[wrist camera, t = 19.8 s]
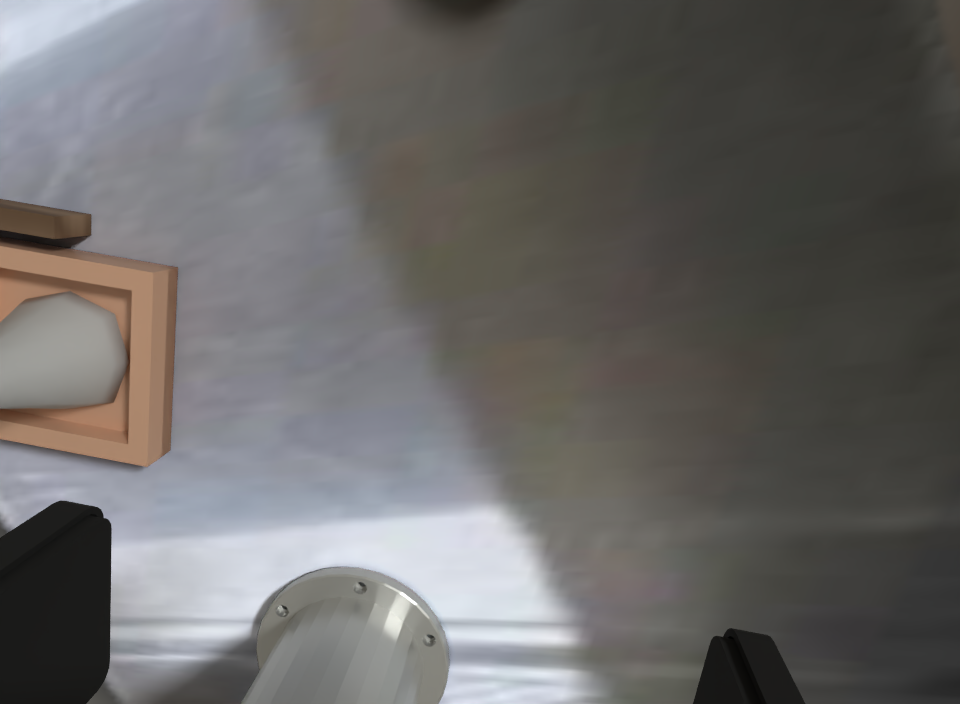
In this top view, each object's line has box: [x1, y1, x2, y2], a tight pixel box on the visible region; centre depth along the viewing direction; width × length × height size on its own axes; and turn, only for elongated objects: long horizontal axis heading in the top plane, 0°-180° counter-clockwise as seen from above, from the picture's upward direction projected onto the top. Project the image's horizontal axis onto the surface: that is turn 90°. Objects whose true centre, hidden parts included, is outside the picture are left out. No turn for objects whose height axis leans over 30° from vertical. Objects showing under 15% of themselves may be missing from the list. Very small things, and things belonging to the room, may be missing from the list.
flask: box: [0, 291, 129, 409], centre depth 35 cm, size 7×7×10 cm
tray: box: [0, 237, 178, 467], centre depth 39 cm, size 12×12×2 cm
